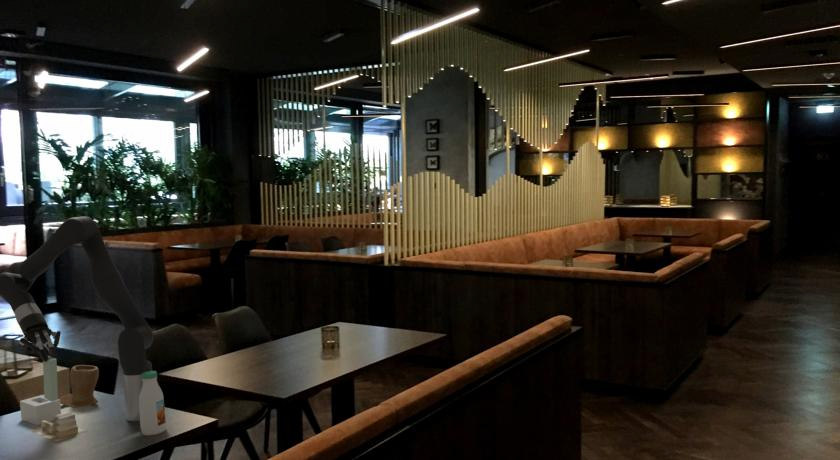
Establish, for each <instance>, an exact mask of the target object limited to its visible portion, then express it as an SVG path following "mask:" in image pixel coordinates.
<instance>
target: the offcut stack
mask: <svg viewBox="0 0 840 460" xmlns="http://www.w3.org/2000/svg"><path fill="white" fill-rule="evenodd" d="M51 423H52V428H51V431H52V435H54V436H57V437H60V438H62V437H65V436H68V435H71V434H75V433H78V428H79V426H78V425H77V420H76V414H75V413H72V412H69V411H65V412H61V414H58V415H55V416H53V421H52V422H51Z"/></svg>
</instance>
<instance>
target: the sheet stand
mask: <svg viewBox="0 0 840 460" xmlns="http://www.w3.org/2000/svg"><path fill="white" fill-rule="evenodd" d="M19 407H20V417H21V419H20V420H21V421H22V422H23V421H25V422H28V423H31V424H34V425H36V426H39V425H42V421H44V420H45V421H48V422H53V416H55V415H58V414H62V407H61V404H60V400H59V399H58V400H56V401H50V400H47V399H45V398H44V394H40V395H36V396H33V397H29V398H25V399H22V400H20V401H19Z"/></svg>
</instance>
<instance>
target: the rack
mask: <svg viewBox="0 0 840 460" xmlns="http://www.w3.org/2000/svg"><path fill="white" fill-rule="evenodd" d="M52 423H53V422H52V421H50V422H48V421H45V420H44V421H42V424H41V427H37V428H34V429H31V430H30V432H31V433H34V434H37V435H39V436H42V437H45V438H46V439H49V440H51V441H53V442H54V441H55V442H59V441H61V440H65V439H67V438H70V437H74V436H77V435H80V434H83V433H86V432H87V430H86V429H83V428H80V427H78V433H75V434H71V435H68V436H65V437H62V438H60V437H57V436H54V435H52V431H51V428H52Z"/></svg>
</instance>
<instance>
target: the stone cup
mask: <svg viewBox="0 0 840 460" xmlns="http://www.w3.org/2000/svg"><path fill="white" fill-rule="evenodd" d="M99 377H100V370H99V368H98V366H95V365H89V364H87V365H86V364H78V365H74V366H72V367H71V369H70V371H69V383H70V388H71V389H70V390H71V393H68V394H65V395H64V394H63V395H61V396H60V397H58V399H59V400H60V405H62V406H65V407H66V406H67V407H70V408H83V407H87V406H94V405H96V404H98V403H99V400H98V399H97V398H96V397H95V395H94V394H95V393H94V391H95V388H96V386H97V384H98V380H99Z"/></svg>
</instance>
